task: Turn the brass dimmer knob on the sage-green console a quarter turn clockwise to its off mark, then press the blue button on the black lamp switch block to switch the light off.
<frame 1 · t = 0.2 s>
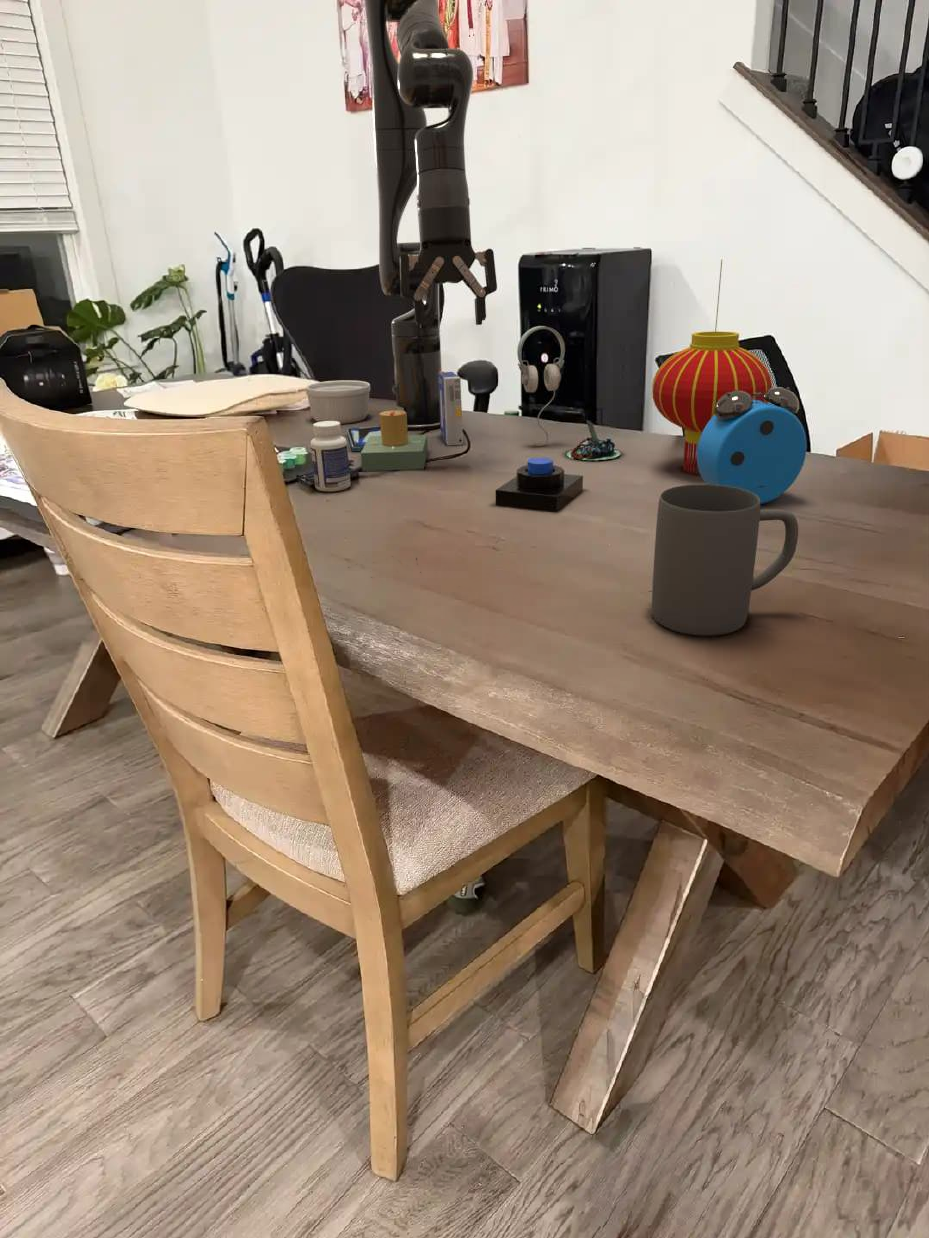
hand: (450, 326, 127), 22 cm above the table, tool pointing down, fingers open, 8 cm apart
dimmer knob: (393, 427, 140), point 6 cm above the table, hinge at 0.0°
ramekin: (341, 420, 176), on the table
alarm clock: (745, 502, 115), on the table
mug: (720, 616, 82), on the table
dish: (593, 455, 142), on the table
headphones: (540, 447, 149), on the table
smartphone: (369, 442, 156), on the table
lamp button: (540, 466, 118), point 4 cm above the table, slide at 0.1 cm
lantern: (703, 470, 131), on the table
lamp switch: (540, 497, 120), on the table
dimmer: (396, 461, 142), on the table
pill bottle: (333, 489, 128), on the table
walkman: (451, 441, 155), on the table
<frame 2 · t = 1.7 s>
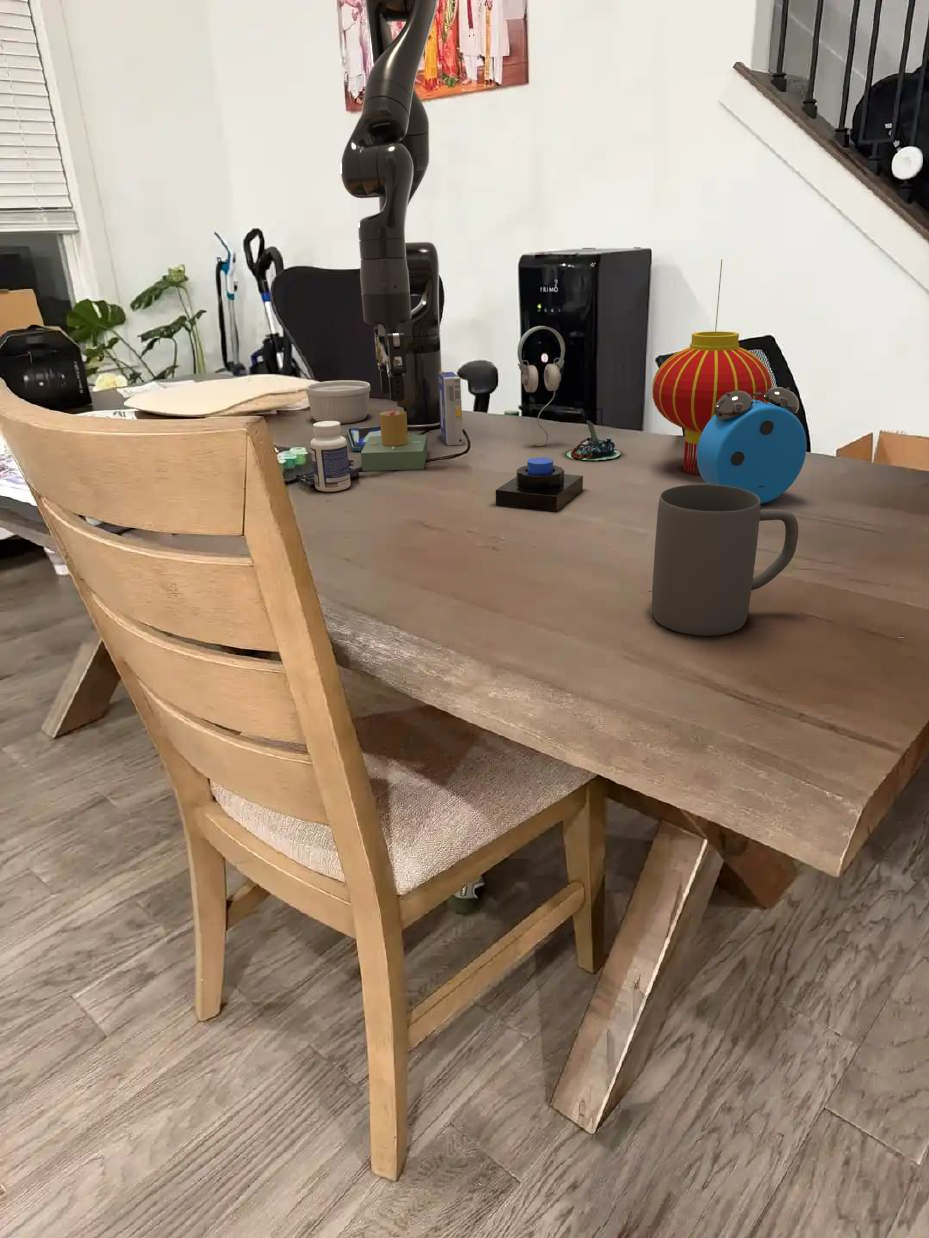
hand: (392, 396, 138), 11 cm above the table, tool pointing down, fingers open, 8 cm apart
nothing on the table moved.
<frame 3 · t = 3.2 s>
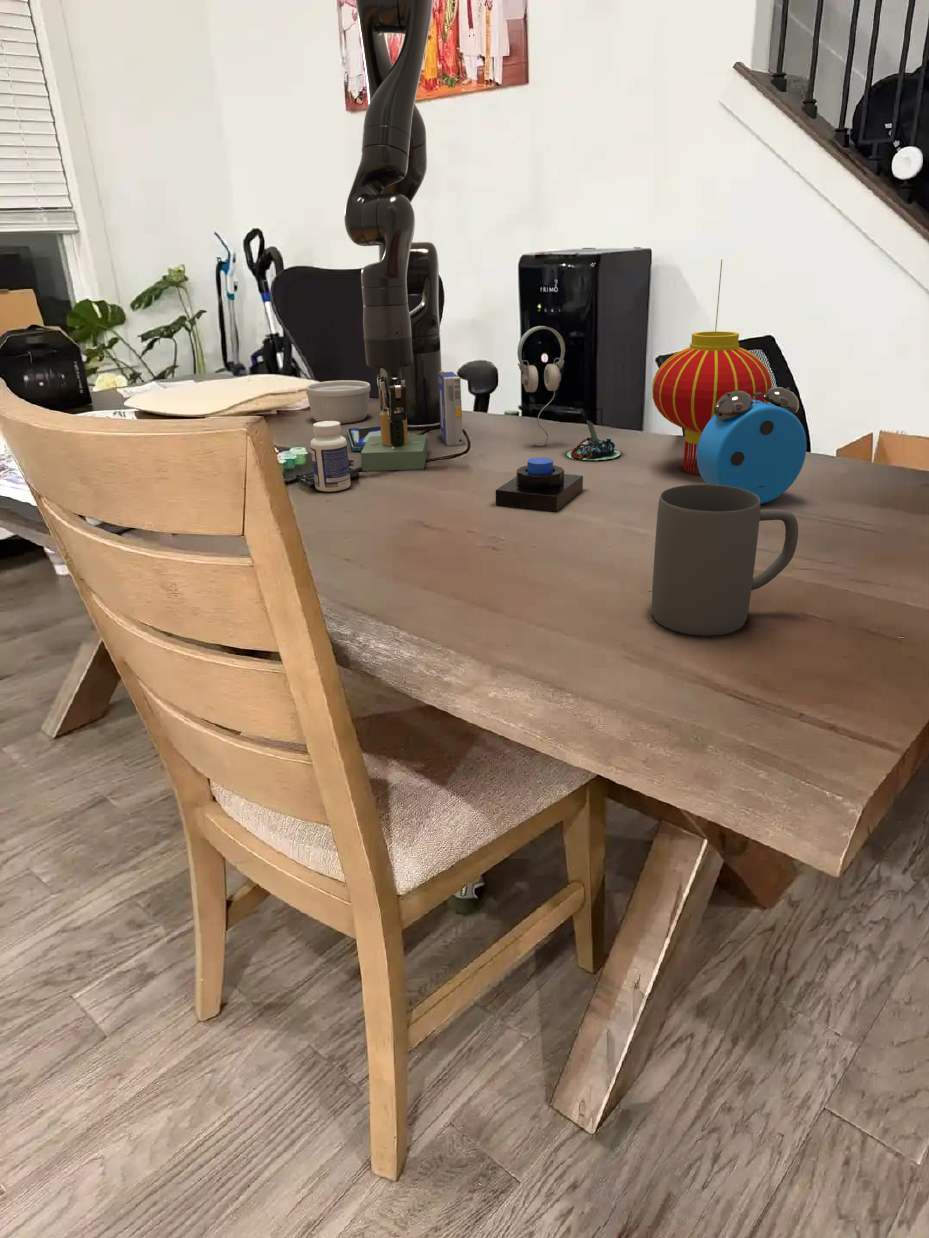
hand: (395, 441, 141), 3 cm above the table, tool pointing down, fingers closed on dimmer knob, 4 cm apart
dimmer knob: (393, 427, 140), point 6 cm above the table, hinge at -0.2°, touching gripper
everything else where it was.
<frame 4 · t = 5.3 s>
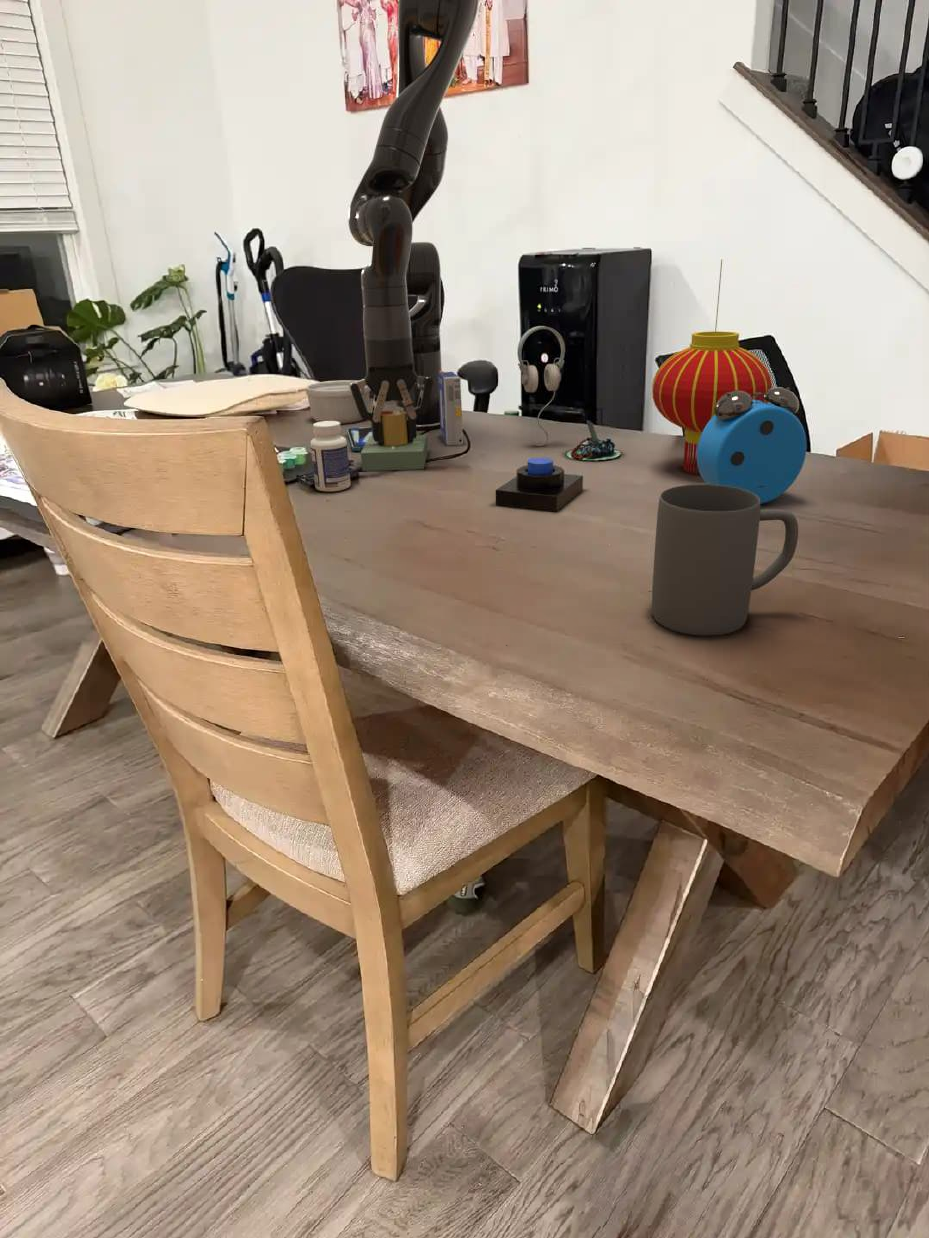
hand: (395, 442, 141), 3 cm above the table, tool pointing down, fingers open, 4 cm apart
dimmer knob: (393, 427, 140), point 6 cm above the table, hinge at -92.7°
everything else where it was.
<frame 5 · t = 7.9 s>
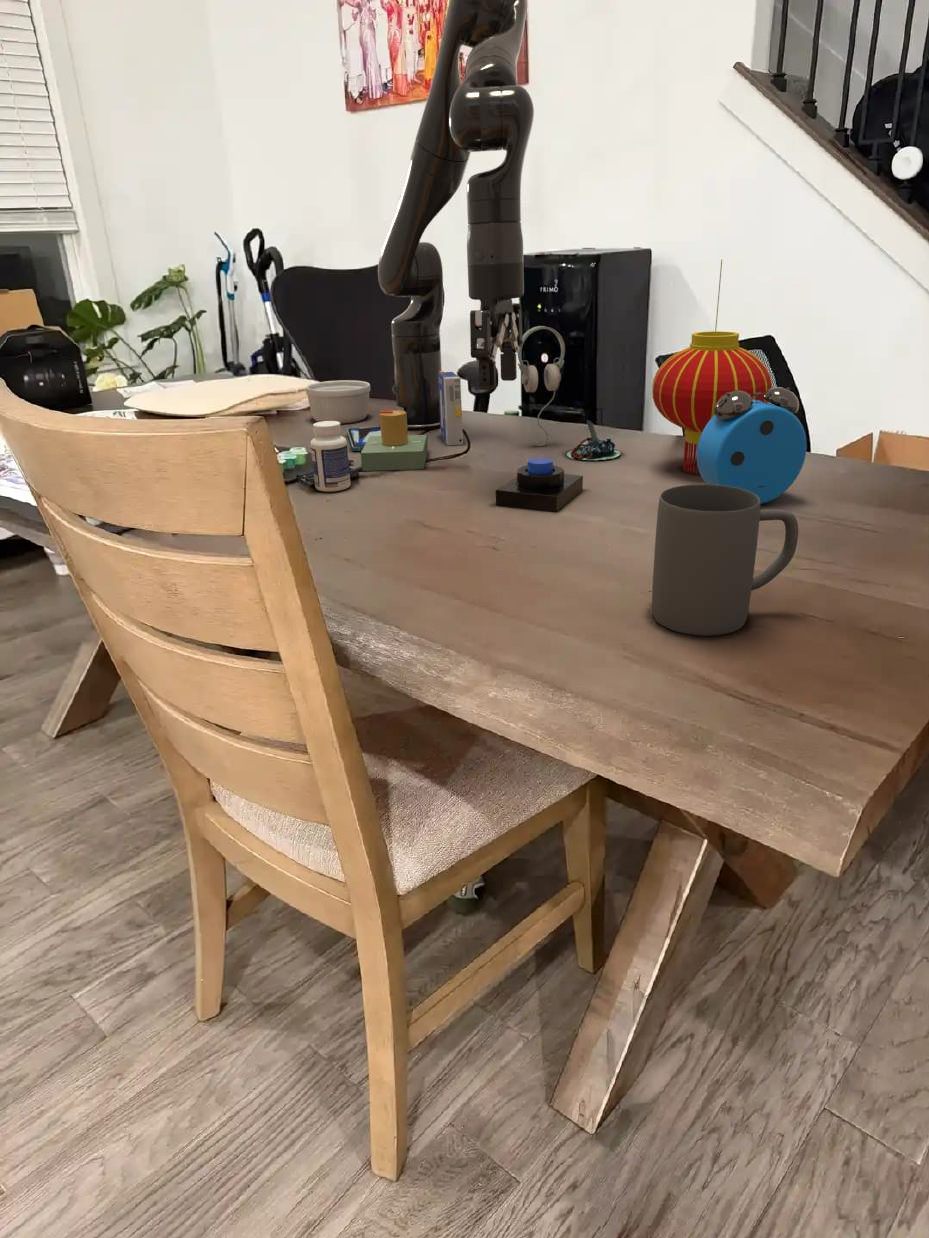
hand: (498, 384, 119), 15 cm above the table, tool pointing down, fingers open, 8 cm apart
nothing on the table moved.
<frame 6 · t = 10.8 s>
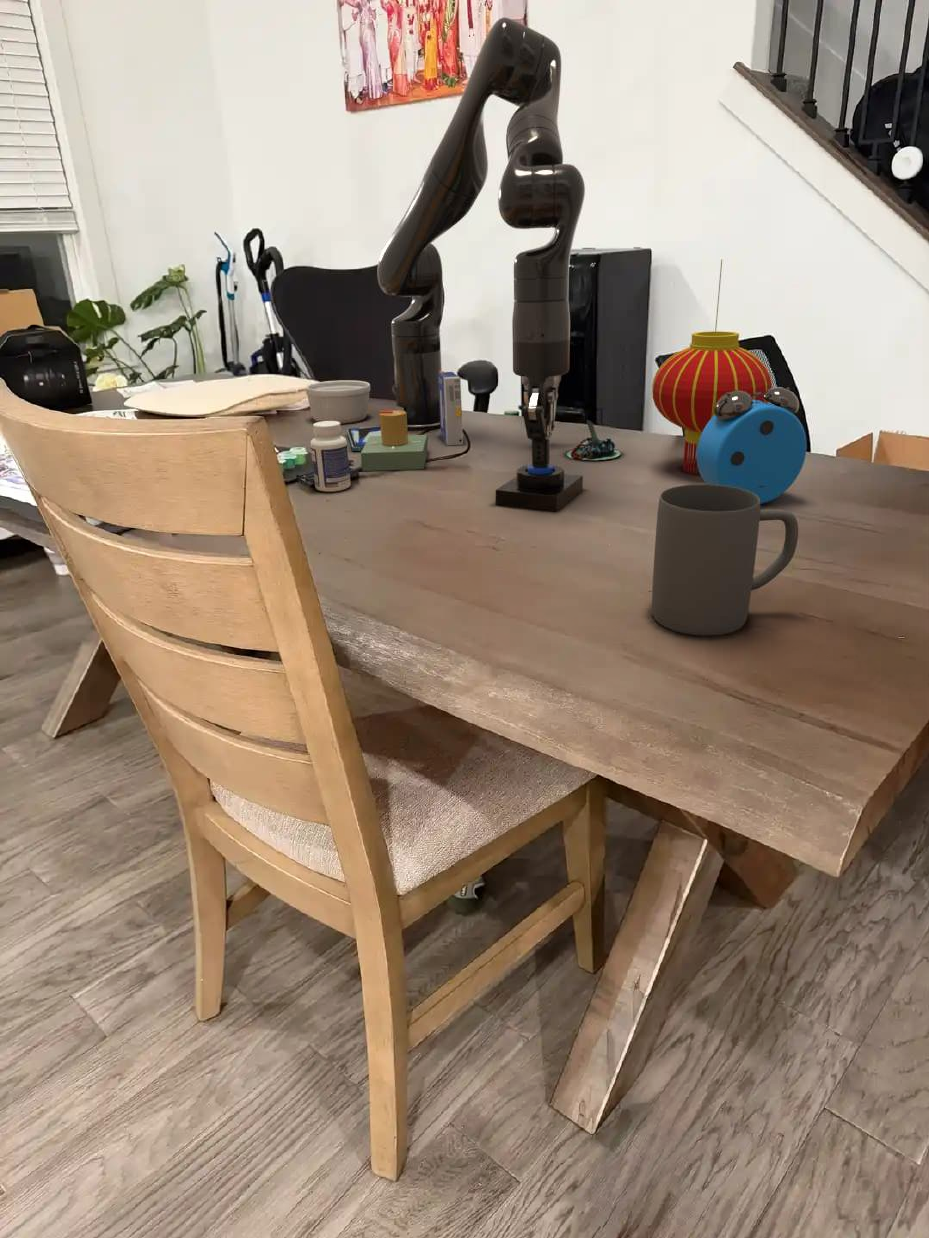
hand: (540, 466, 118), 5 cm above the table, tool pointing down, fingers closed
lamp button: (540, 472, 118), point 4 cm above the table, slide at -0.7 cm, touching gripper
everything else where it was.
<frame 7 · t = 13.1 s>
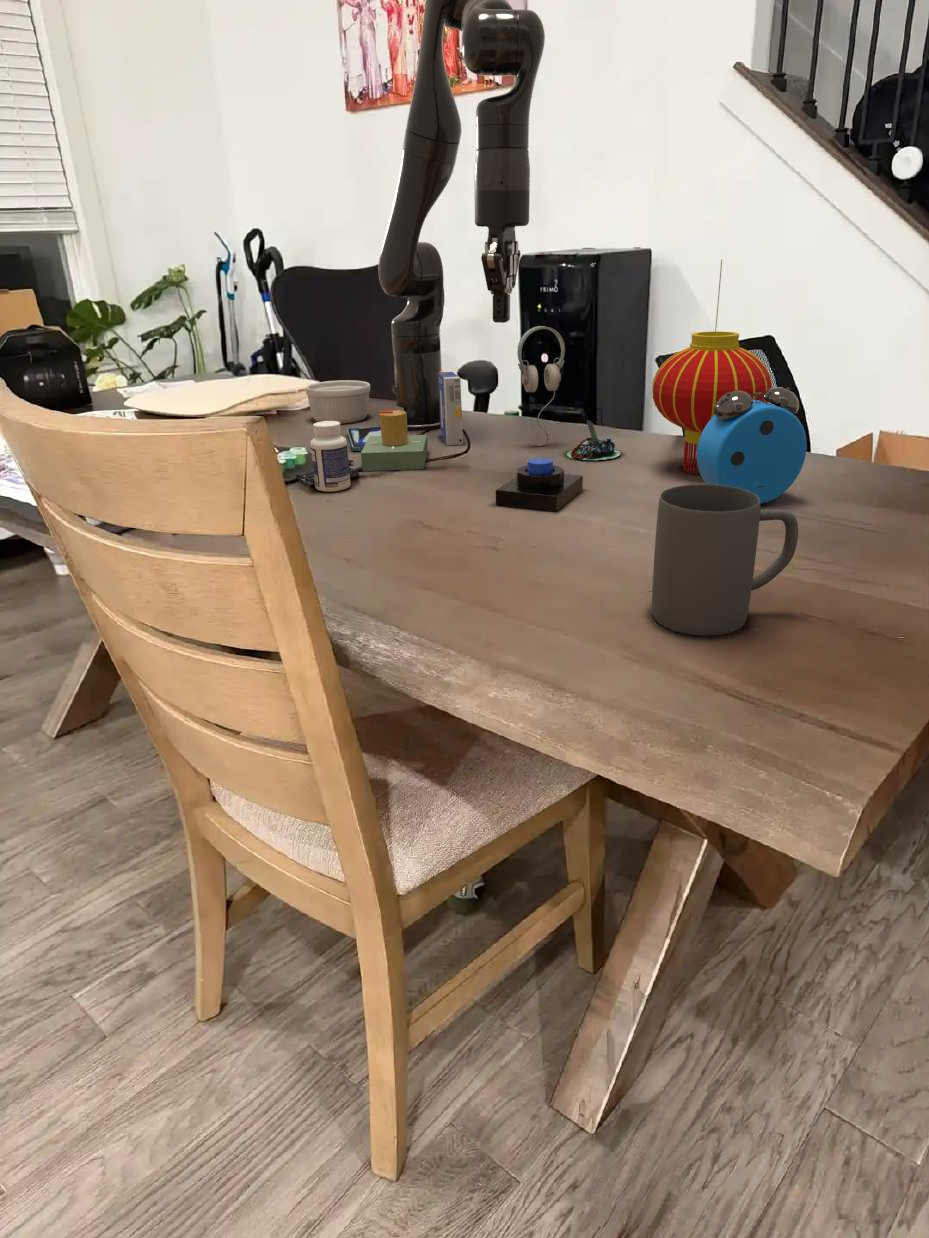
hand: (501, 321, 122), 23 cm above the table, tool pointing down, fingers closed
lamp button: (540, 466, 118), point 4 cm above the table, slide at 0.1 cm
everything else where it was.
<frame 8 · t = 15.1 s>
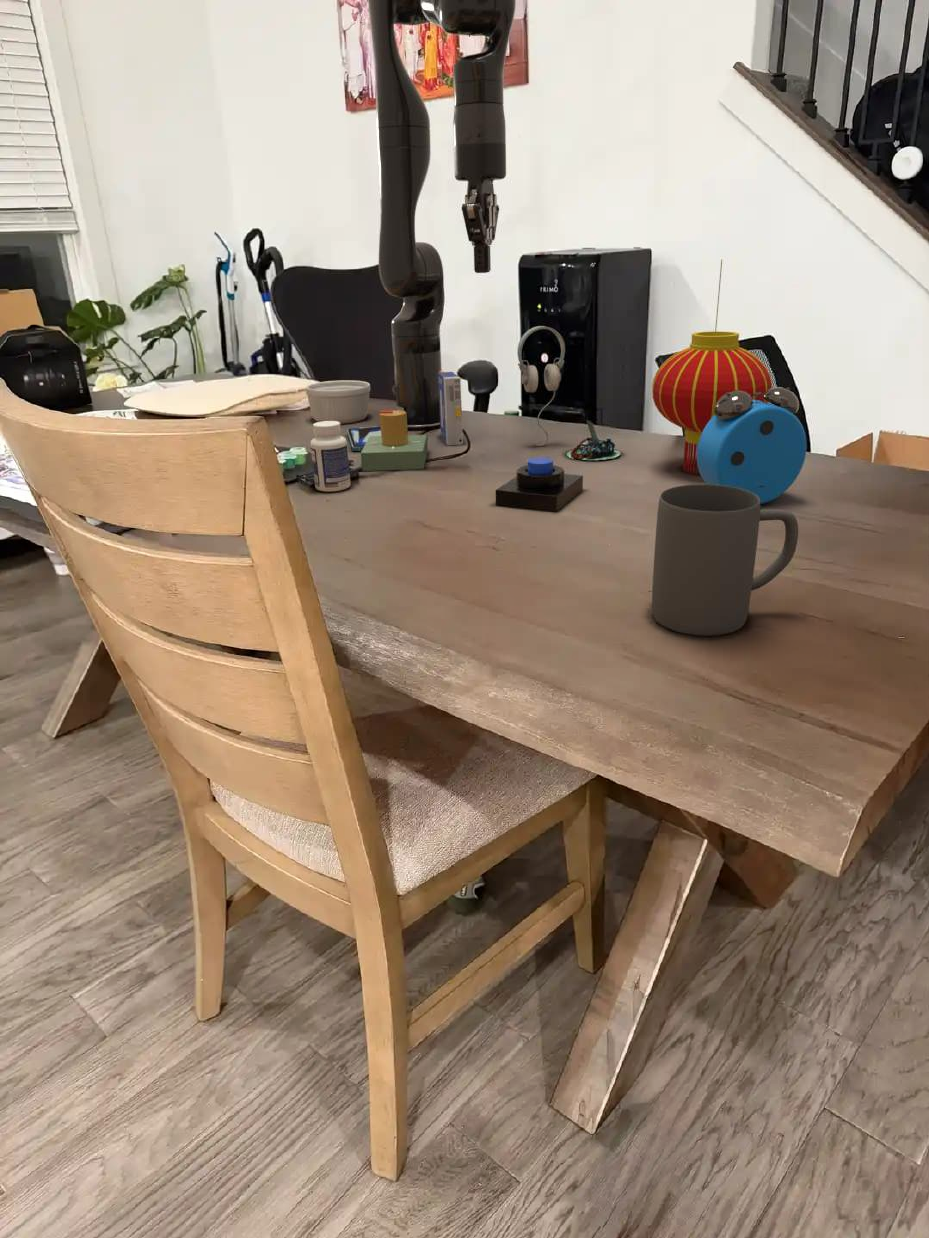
hand: (482, 272, 129), 29 cm above the table, tool pointing down, fingers closed
nothing on the table moved.
at the end: dimmer knob at -93° (first picture: +0°); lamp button pushed in 1.0 cm at the most during the clip, back to where it started at the end; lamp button slide at 0.1 cm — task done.
